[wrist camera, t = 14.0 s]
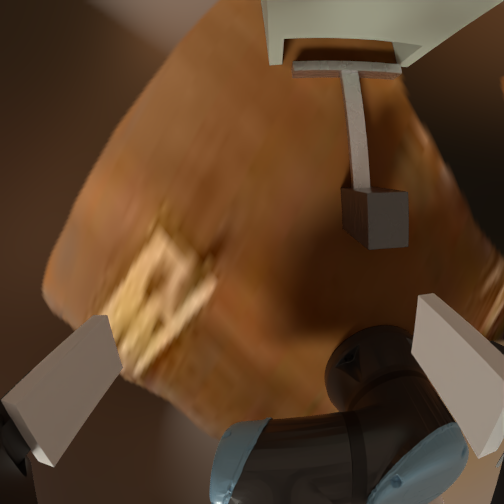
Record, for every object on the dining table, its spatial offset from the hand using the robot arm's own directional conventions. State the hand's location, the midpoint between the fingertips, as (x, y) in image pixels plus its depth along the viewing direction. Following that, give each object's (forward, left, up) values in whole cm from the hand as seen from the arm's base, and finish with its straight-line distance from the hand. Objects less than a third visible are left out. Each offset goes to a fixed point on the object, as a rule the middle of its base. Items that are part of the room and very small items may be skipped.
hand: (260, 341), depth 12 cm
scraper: (+9, -11, -27) cm, 30 cm away
